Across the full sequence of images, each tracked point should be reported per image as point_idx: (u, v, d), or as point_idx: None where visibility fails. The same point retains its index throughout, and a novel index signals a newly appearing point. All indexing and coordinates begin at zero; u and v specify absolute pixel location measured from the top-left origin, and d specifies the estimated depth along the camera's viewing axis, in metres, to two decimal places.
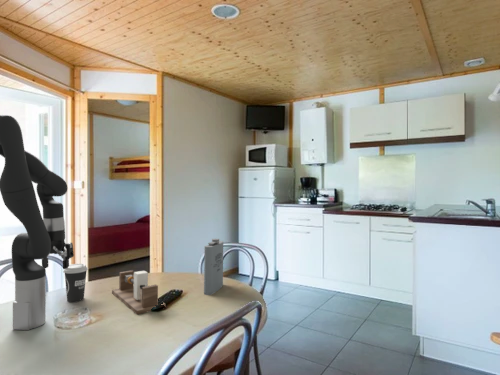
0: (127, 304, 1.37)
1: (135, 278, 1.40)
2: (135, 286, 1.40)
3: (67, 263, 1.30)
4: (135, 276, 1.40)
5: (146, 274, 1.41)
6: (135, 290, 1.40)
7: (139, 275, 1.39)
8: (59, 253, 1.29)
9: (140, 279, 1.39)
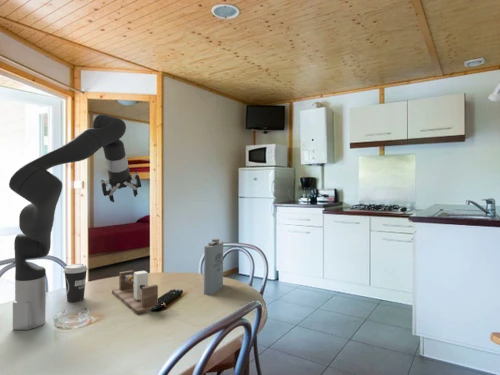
0: (127, 304, 1.37)
1: (135, 278, 1.40)
2: (135, 286, 1.40)
3: (136, 191, 1.32)
4: (135, 276, 1.40)
5: (146, 274, 1.41)
6: (135, 290, 1.40)
7: (139, 275, 1.39)
8: (130, 186, 1.27)
9: (140, 279, 1.39)
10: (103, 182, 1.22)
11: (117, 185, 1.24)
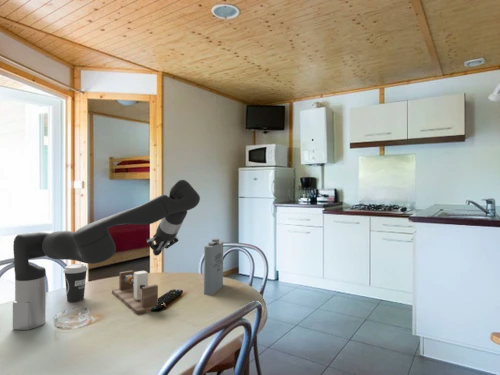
0: (127, 304, 1.37)
1: (135, 278, 1.40)
2: (135, 286, 1.40)
3: None
4: (135, 276, 1.40)
5: (146, 274, 1.41)
6: (135, 290, 1.40)
7: (139, 275, 1.39)
8: (165, 245, 1.25)
9: (140, 279, 1.39)
10: (148, 241, 1.21)
11: (161, 243, 1.22)
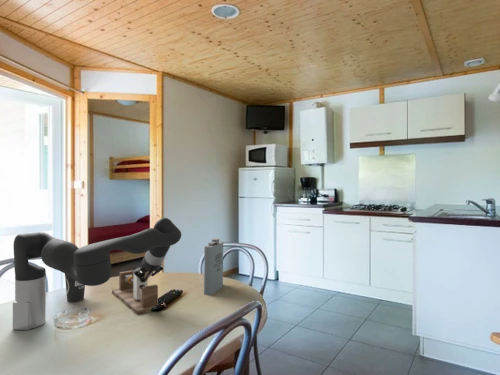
0: (127, 304, 1.37)
1: (135, 278, 1.40)
2: (135, 286, 1.40)
3: None
4: (135, 276, 1.40)
5: None
6: (134, 290, 1.40)
7: None
8: (151, 274, 1.35)
9: None
10: (135, 271, 1.31)
11: (147, 272, 1.32)
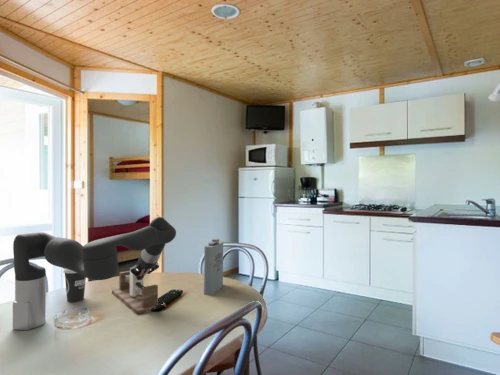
0: (127, 304, 1.37)
1: (131, 275, 1.44)
2: (131, 283, 1.44)
3: None
4: (131, 273, 1.44)
5: None
6: (131, 287, 1.44)
7: None
8: (147, 272, 1.39)
9: None
10: (131, 269, 1.34)
11: (143, 270, 1.36)
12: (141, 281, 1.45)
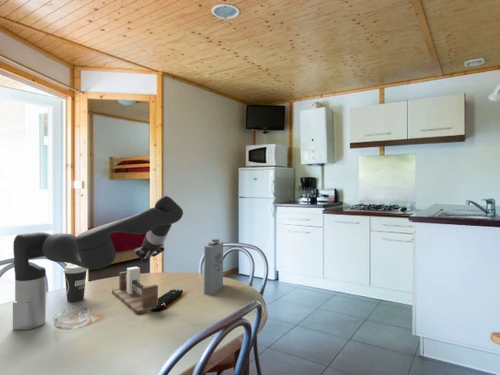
0: (127, 304, 1.37)
1: (128, 273, 1.47)
2: (128, 281, 1.47)
3: None
4: (128, 271, 1.47)
5: (138, 270, 1.48)
6: (127, 285, 1.47)
7: (131, 270, 1.46)
8: (152, 254, 1.35)
9: (132, 274, 1.46)
10: (136, 250, 1.30)
11: (148, 252, 1.32)
12: (138, 279, 1.48)
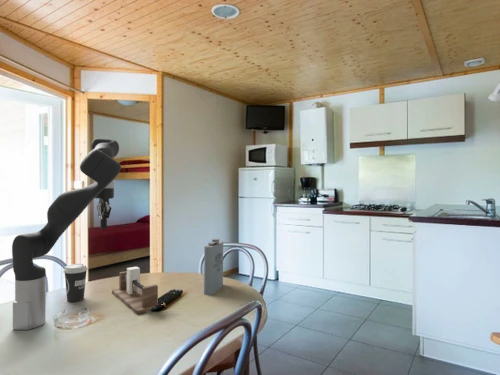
0: (127, 304, 1.37)
1: (128, 273, 1.47)
2: (128, 281, 1.47)
3: None
4: (128, 271, 1.47)
5: (138, 270, 1.48)
6: (127, 285, 1.47)
7: (131, 270, 1.46)
8: None
9: (132, 274, 1.46)
10: (108, 207, 1.32)
11: (109, 205, 1.36)
12: (138, 279, 1.48)
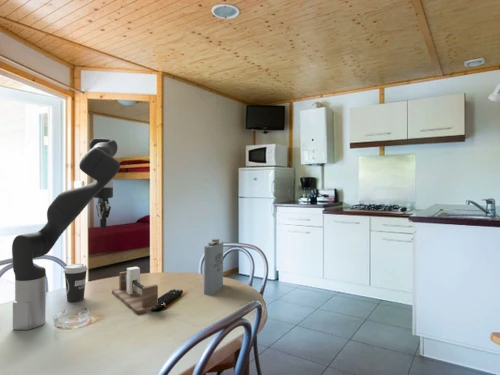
0: (127, 304, 1.37)
1: (128, 273, 1.47)
2: (128, 281, 1.47)
3: None
4: (128, 271, 1.47)
5: (138, 270, 1.48)
6: (127, 285, 1.47)
7: (131, 270, 1.46)
8: None
9: (132, 274, 1.46)
10: (108, 206, 1.32)
11: (108, 205, 1.36)
12: (138, 279, 1.48)
